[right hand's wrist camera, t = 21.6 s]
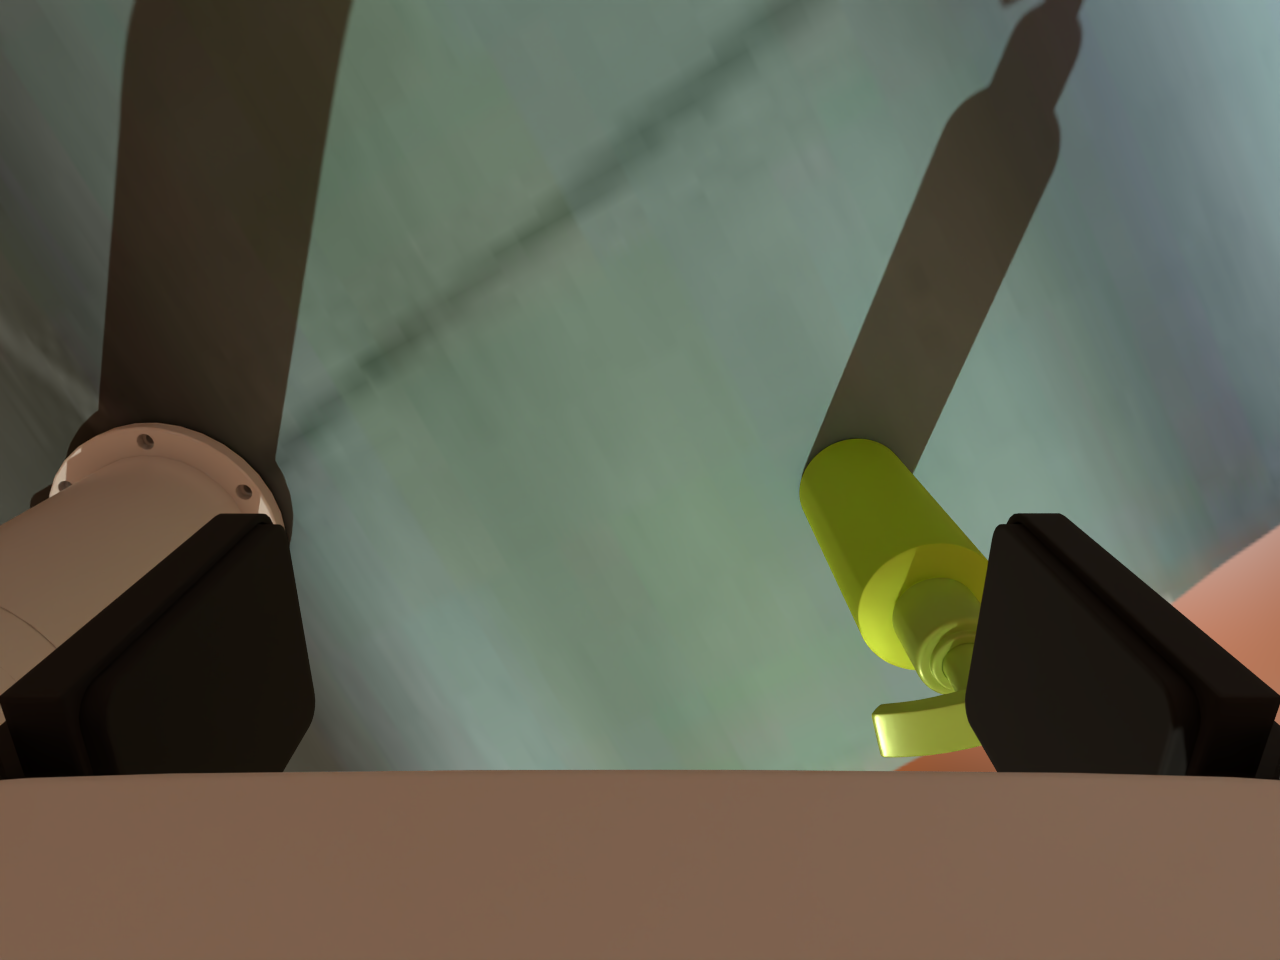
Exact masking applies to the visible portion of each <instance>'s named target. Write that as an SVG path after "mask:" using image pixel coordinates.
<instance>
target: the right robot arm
mask: <svg viewBox="0 0 1280 960" xmlns="http://www.w3.org/2000/svg"><path fill="white" fill-rule="evenodd" d="M247 486H248V487H249V488H250V489H249V488H248V487H247ZM1279 705H1280V695H1279V694H1277V693H1276V692H1275V691H1274V690H1273V689H1271V688H1270V687H1269V686H1268V685H1267V684H1265V683H1264V682H1263V681H1262V680H1261V679H1259V678H1258V677H1257V676H1256V675H1255V674H1253V673H1252V672H1251V671H1250V670H1249V669H1247V668H1246V667H1245V666H1244V665H1243V664H1241V663H1240V662H1239V661H1238V660H1237V659H1235V658H1234V657H1233V656H1232V655H1231V654H1229V653H1228V652H1227V651H1226V650H1225V649H1223V648H1222V647H1221V646H1220V645H1219V644H1217V643H1216V642H1215V641H1214V640H1213V639H1211V638H1210V637H1209V636H1208V635H1207V634H1205V633H1204V632H1203V631H1202V630H1201V629H1199V628H1198V627H1197V626H1196V625H1195V624H1193V623H1192V622H1191V621H1190V620H1189V619H1187V618H1186V617H1185V616H1184V615H1183V614H1181V613H1180V612H1179V611H1178V610H1177V609H1175V608H1174V607H1173V606H1172V605H1171V604H1170V603H1168V602H1167V601H1166V600H1165V599H1164V598H1162V597H1161V596H1160V595H1159V594H1158V593H1156V592H1155V591H1154V590H1153V589H1152V588H1150V587H1149V586H1148V585H1147V584H1146V583H1144V582H1143V581H1142V580H1141V579H1140V578H1138V577H1137V576H1136V575H1135V574H1134V573H1132V572H1131V571H1130V570H1129V569H1128V568H1126V567H1125V566H1124V565H1123V564H1122V563H1120V562H1119V561H1118V560H1117V559H1116V558H1114V557H1113V556H1112V555H1111V554H1110V553H1108V552H1107V551H1106V550H1105V549H1104V548H1102V547H1101V546H1100V545H1099V544H1098V543H1096V542H1095V541H1094V540H1093V539H1092V538H1090V537H1089V536H1088V535H1087V534H1086V533H1084V532H1083V531H1082V530H1081V529H1080V528H1078V527H1077V526H1076V525H1075V524H1074V523H1072V522H1071V521H1070V520H1069V519H1068V518H1066V517H1065V516H1064V515H1062V514H1060V513H1018V514H1014V515H1012V516H1011V517H1010V518H1009V520H1008V522H1007V524H1000V525H998V526H997V527H996V529H995V531H994V534H993V537H992V543H991V549H990V554H989V560H988V566H987V572H986V578H985V583H984V589H983V595H982V601H981V607H980V612H979V618H978V624H977V630H976V636H975V641H974V647H973V653H972V659H971V665H970V670H969V676H968V682H967V688H966V694H965V710H966V715H967V719H968V722H969V724H970V726H971V728H972V730H973V731H974V733H975V735H976V736H977V738H978V740H979V742H980V743H981V745H982V747H983V748H984V750H985V752H986V753H987V755H988V757H989V759H990V760H991V762H992V764H993V765H994V767H995V769H996V771H997V772H910V771H795V770H451V771H359V772H283V771H284V769H285V767H286V765H287V764H288V762H289V760H290V759H291V757H292V755H293V753H294V752H295V750H296V748H297V747H298V745H299V743H300V742H301V740H302V738H303V736H304V735H305V733H306V731H307V730H308V728H309V726H310V724H311V722H312V719H313V715H314V710H315V694H314V688H313V682H312V676H311V670H310V665H309V659H308V653H307V647H306V641H305V636H304V630H303V624H302V618H301V612H300V607H299V601H298V595H297V589H296V583H295V578H294V572H293V566H292V560H291V554H290V549H289V543H288V537H287V534H286V531H285V527H284V523H283V519H282V515H281V512H280V510H279V507H278V505H277V503H276V501H275V499H274V497H273V495H272V493H271V491H270V490H269V488H268V487H267V486H266V484H265V483H264V481H263V480H262V478H261V477H260V476H259V474H258V473H257V472H256V471H255V470H254V469H253V468H252V467H251V466H250V465H249V464H248V463H247V462H246V461H245V460H244V459H243V458H241V457H240V456H239V455H237V454H236V453H235V452H233V451H232V450H231V449H229V448H228V447H226V446H225V445H224V444H222V443H220V442H218V441H216V440H214V439H212V438H210V437H208V436H206V435H204V434H202V433H199V432H196V431H193V430H190V429H187V428H184V427H181V426H175V425H169V424H163V423H134V424H129V425H125V426H120V427H116V428H113V429H111V430H108V431H106V432H104V433H102V434H99V435H97V436H95V437H93V438H92V439H90V440H88V441H87V442H85V443H83V444H82V445H80V446H78V447H77V448H76V449H75V450H74V451H73V452H72V453H71V454H70V455H69V456H68V457H67V458H66V459H65V460H64V462H63V464H62V465H61V467H60V469H59V470H58V472H57V474H56V475H55V478H54V481H53V484H52V487H51V491H50V494H49V498H48V499H46V500H44V501H43V502H41V503H39V504H37V505H36V506H34V507H32V508H30V509H29V510H27V511H25V512H23V513H22V514H20V515H18V516H16V517H15V518H13V519H11V520H9V521H7V522H6V523H4V524H2V525H0V960H1280V725H1279V724H1277V723H1276V722H1275V721H1274V720H1275V717H1276V714H1277V711H1278V708H1279Z"/></svg>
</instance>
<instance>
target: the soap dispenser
mask: <svg viewBox="0 0 1280 960" xmlns="http://www.w3.org/2000/svg"><path fill="white" fill-rule="evenodd" d="M800 502H801V506H802V509H803V511H804V513H805V515H806V517H807V520H808V522H809V524H810V526H811V528H812V530H813V532H814V534H815V537H816V539H817V541H818V543H819V545H820V547H821V549H822V552H823V554H824V556H825V558H826V560H827V562H828V564H829V567H830V569H831V571H832V573H833V575H834V577H835V579H836V581H837V584H838V586H839V588H840V590H841V592H842V594H843V596H844V599H845V601H846V603H847V605H848V607H849V609H850V611H851V614H852V616H853V618H854V620H855V622H856V624H857V626H858V628H859V631H860V633H861V635H862V637H863V639H864V641H865V642H866V644H867V645H868V647H869V648H870V649H871V650H872V651H873V652H874V653H875V654H876V655H877V656H879V657H880V658H881V659H883V660H884V661H886V662H888V663H890V664H892V665H895V666H898V667H901V668H905V669H911V670H916V672H917V674H918V675H919V677H920V678H921V680H922V681H923V682H924V683H925V684H926V685H927V686H928V687H929V688H930V689H932V690H934V691H936V692H938V693H941V694H944V695H940V696H936V697H931V698H926V699H921V700H915V701H908V702H900V703H889V704H882V705H880V706H878V707H877V708H876V709H875V711H874V712H873V713H872V719H873V724H874V728H875V733H876V737H877V741H878V745H879V750H880V754H881V756H882V757H911V756H924V755H934V754H941V753H948V752H953V751H959V750H963V749H968V748H973V747H977V746H980V745H981V743H980V742H979V740H978V738H977V736H976V735H975V733H974V731H973V730H972V728H971V726H970V724H969V722H968V719H967V715H966V710H965V694H966V688H967V682H968V676H969V670H970V665H971V659H972V653H973V647H974V641H975V636H976V630H977V624H978V618H979V612H980V607H981V601H982V595H983V589H984V583H985V578H986V572H987V566H988V560H987V559H986V558H985V557H984V556H983V554H982V553H981V552H980V551H979V550H978V549H977V548H976V546H975V545H974V544H973V543H972V542H971V541H970V539H969V538H968V537H967V536H966V535H965V534H964V533H963V531H962V530H961V529H960V528H959V527H958V526H957V525H956V523H955V522H954V521H953V520H952V519H951V518H950V517H949V515H948V514H947V513H946V512H945V511H944V510H943V509H942V507H941V506H940V505H939V504H938V503H937V502H936V501H935V499H934V498H933V497H932V496H931V495H930V494H929V493H928V491H927V490H926V489H925V488H924V487H923V486H922V484H921V483H920V482H919V481H918V480H917V479H916V478H915V476H914V475H913V474H912V473H911V472H910V471H909V470H908V468H907V467H906V466H905V465H904V464H903V463H902V462H901V460H900V459H899V458H898V457H897V456H896V455H895V454H894V453H893V452H892V451H891V450H890V449H889V448H887V447H886V446H884V445H882V444H880V443H878V442H875V441H872V440H867V439H848V440H843V441H840V442H837V443H834V444H832V445H830V446H828V447H827V448H825V449H824V450H822V451H821V452H820V453H818V454H817V455H816V456H815V457H814V458H813V459H812V461H811V462H810V463H809V465H808V466H807V468H806V470H805V471H804V474H803V476H802V479H801V483H800Z"/></svg>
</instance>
